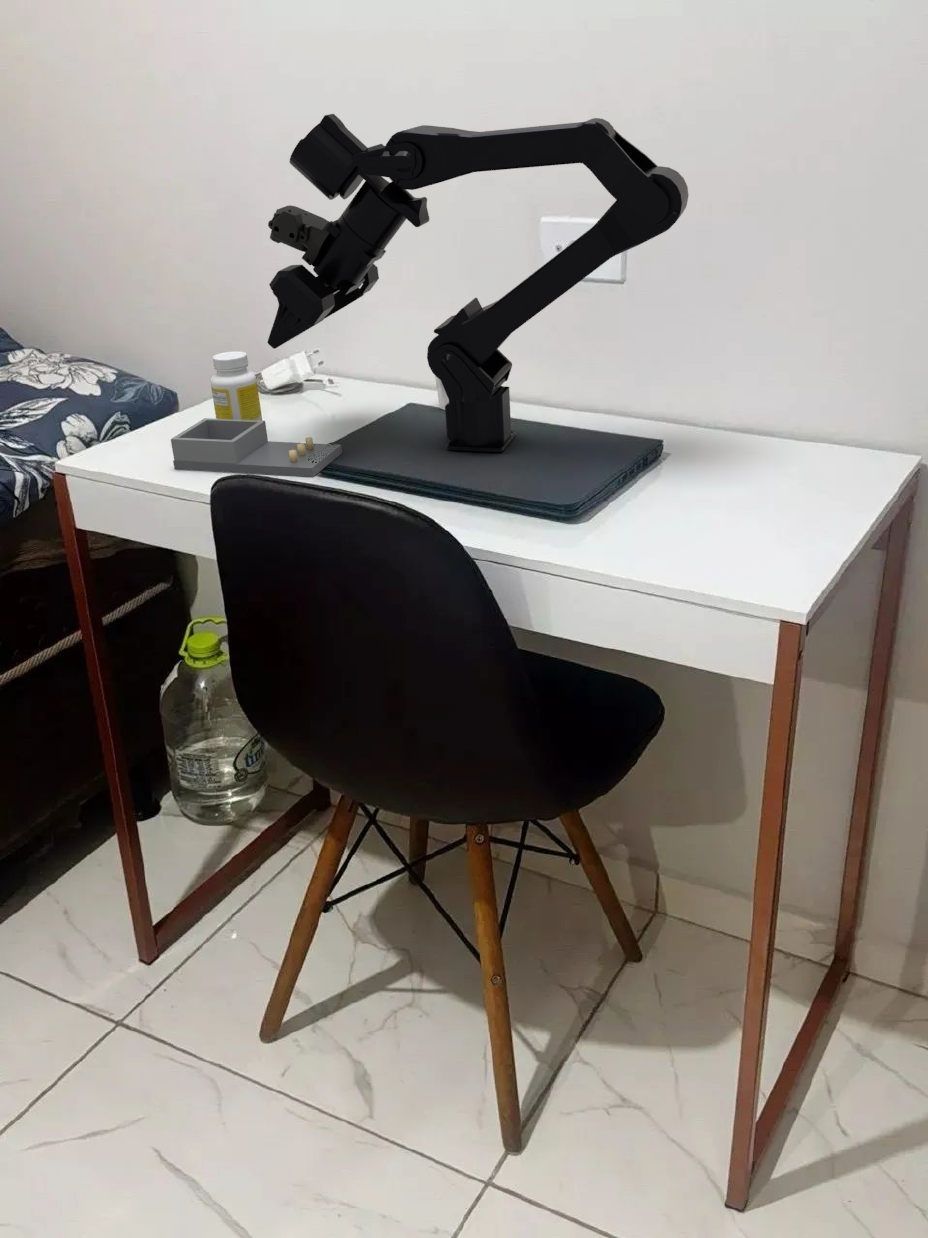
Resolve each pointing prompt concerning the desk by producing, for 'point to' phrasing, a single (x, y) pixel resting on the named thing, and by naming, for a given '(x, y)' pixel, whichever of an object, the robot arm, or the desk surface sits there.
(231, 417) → the supplement bottle
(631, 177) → the robot arm
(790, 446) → the desk surface
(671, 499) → the desk surface
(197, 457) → the grey organizer tray
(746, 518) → the desk surface
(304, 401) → the desk surface
